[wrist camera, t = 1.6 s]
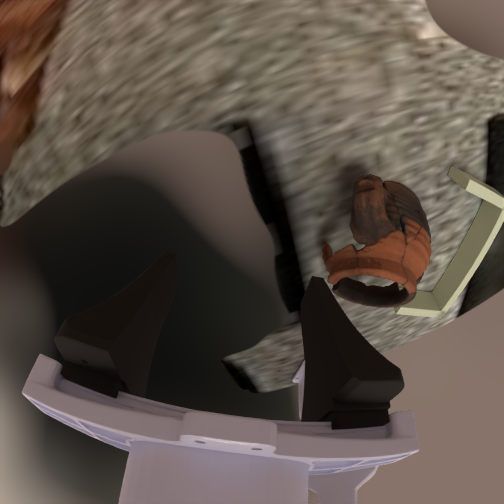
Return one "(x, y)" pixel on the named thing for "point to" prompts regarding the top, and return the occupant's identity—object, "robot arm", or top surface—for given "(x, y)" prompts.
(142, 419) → the robot arm
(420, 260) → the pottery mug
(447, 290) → the tray
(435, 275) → the top surface
